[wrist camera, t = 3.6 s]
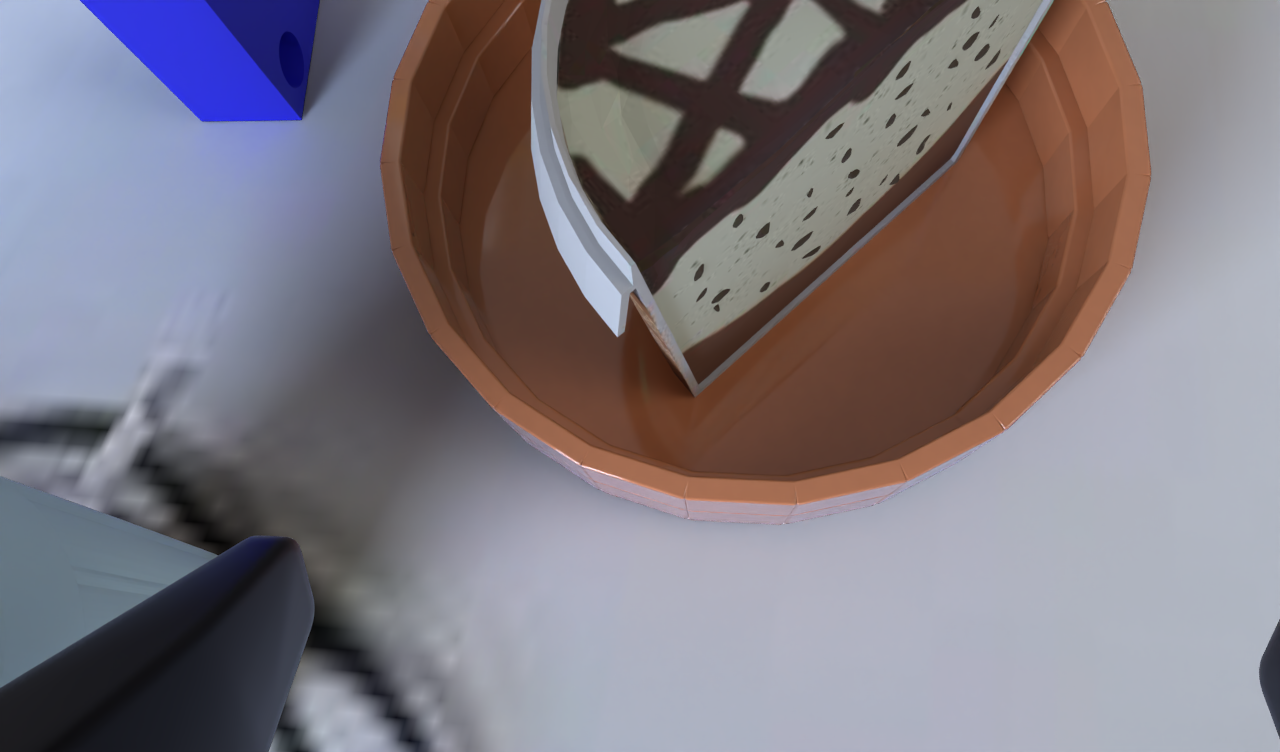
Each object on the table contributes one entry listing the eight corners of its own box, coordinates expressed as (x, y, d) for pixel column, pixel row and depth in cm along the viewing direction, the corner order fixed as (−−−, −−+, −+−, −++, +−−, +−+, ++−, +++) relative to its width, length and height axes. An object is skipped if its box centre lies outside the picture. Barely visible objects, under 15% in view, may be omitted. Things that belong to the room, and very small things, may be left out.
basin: (598, 650, 21) (573, 655, 17) (344, 98, 26) (279, 6, 22) (1214, 329, 22) (1322, 266, 18) (860, -147, 27) (886, -276, 23)
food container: (829, -13, 25) (903, -412, 15) (997, 126, 23) (1197, -222, 14) (494, 269, 23) (343, 22, 14) (650, 438, 22) (602, 291, 12)
